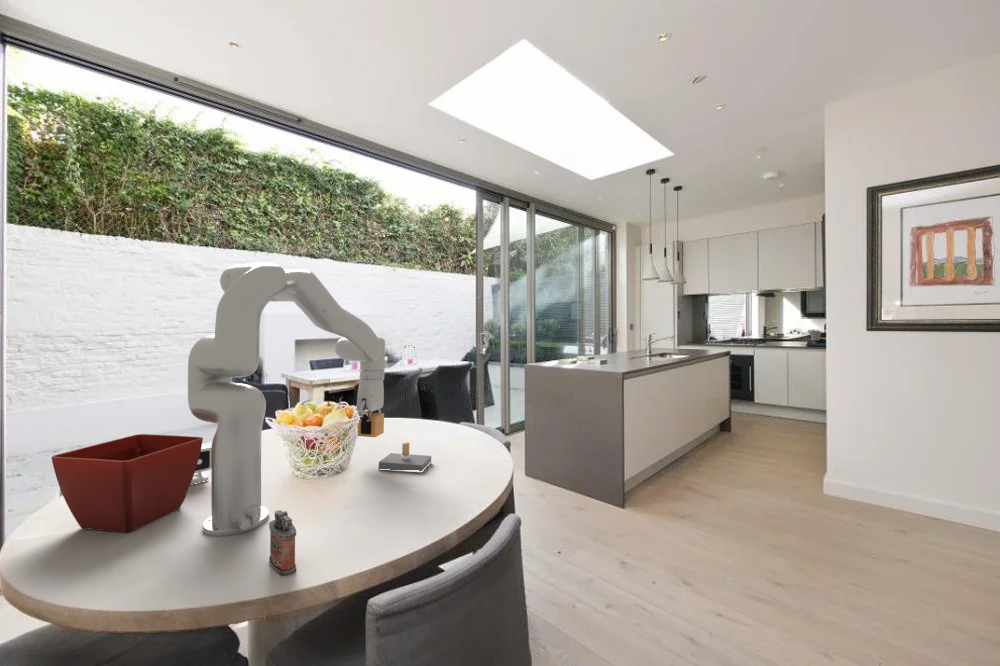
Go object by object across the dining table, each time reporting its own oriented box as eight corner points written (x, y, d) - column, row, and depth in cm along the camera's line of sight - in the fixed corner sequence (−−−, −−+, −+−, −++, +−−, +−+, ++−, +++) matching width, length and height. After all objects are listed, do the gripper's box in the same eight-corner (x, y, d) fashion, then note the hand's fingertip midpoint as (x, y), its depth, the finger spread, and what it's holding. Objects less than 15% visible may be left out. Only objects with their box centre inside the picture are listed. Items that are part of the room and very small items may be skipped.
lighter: (265, 561, 79) (265, 509, 79) (283, 554, 81) (284, 504, 81) (280, 579, 73) (280, 523, 73) (300, 571, 76) (300, 517, 76)
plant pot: (139, 497, 106) (139, 432, 106) (205, 503, 103) (205, 436, 103) (48, 535, 87) (47, 456, 87) (126, 543, 84) (126, 461, 84)
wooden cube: (383, 432, 135) (384, 413, 135) (375, 437, 129) (375, 416, 129) (366, 431, 136) (367, 412, 136) (357, 436, 130) (357, 415, 130)
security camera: (185, 489, 112) (185, 452, 112) (177, 482, 116) (177, 447, 116) (212, 482, 117) (212, 447, 117) (203, 476, 121) (203, 442, 121)
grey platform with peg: (431, 463, 135) (431, 440, 134) (421, 473, 126) (421, 448, 126) (390, 460, 137) (391, 438, 137) (378, 470, 128) (378, 446, 128)
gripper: (373, 372, 142) (372, 425, 142) (347, 377, 125) (345, 437, 124) (394, 373, 140) (393, 426, 140) (370, 378, 123) (369, 438, 123)
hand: (370, 430), depth 132 cm, fingers closed on wooden cube, 5 cm apart
